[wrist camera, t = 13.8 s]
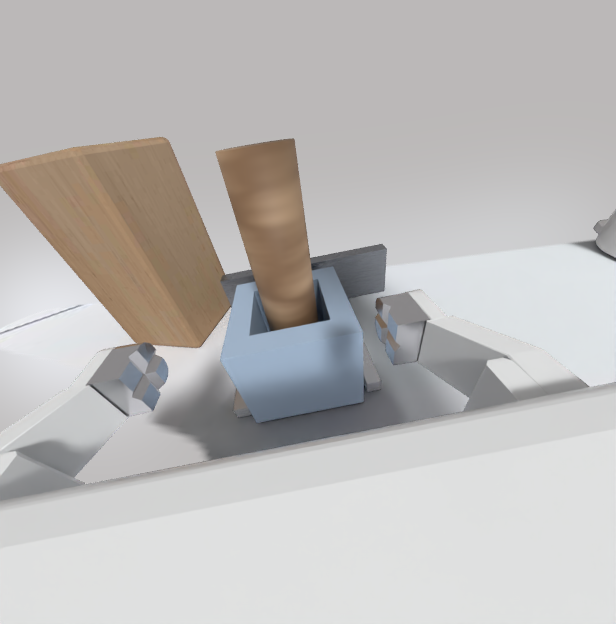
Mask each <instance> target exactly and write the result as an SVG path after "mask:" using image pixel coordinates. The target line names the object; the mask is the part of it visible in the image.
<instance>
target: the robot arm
mask: <svg viewBox="0 0 616 624" xmlns="http://www.w3.org/2000/svg"><path fill="white" fill-rule="evenodd" d="M594 230H595V231H596V232H597V233H598V237H597V239H596V244H597V246H598V247H599V248H600V249H601V250H602V251H604V252H605V253H607V254H609V255H611V256H613V257H615V258H616V210H615V211H614V212H613V214H612V215H611V216H610V218H609V219H607V220H600V221H599V222H597V224H596V225H595V226H594ZM376 309H377V311H378V314H377V316H376V317H375V326H376V332H377V334H378V337H379V339H380V341H381V342H382V343H384V344H386V353H387V355H388V357H389V358H390V360H391V362H392V364H393V365H398V364H404V363H410V362H416V361H418V363H419V364H421V365H422V366H424V367H425V368H427V369H428V370H430V371H431V372H432V373H434V374H435V375H437V376H438V377H440V378H441V379H443V380H444V381H446V382H447V383H448V384H450V385H451V386H453V387H454V388H456V389H457V390H459V391H460V392H462V393H463V394H464V395H466V396H467V397H469V400H468V402H467V404H466V406H465V408H464V411H463V412H458V413H453V414H448V415H443V416H437V417H432V418H427V419H422V420H417V421H412V422H406V423H401V424H396V425H391V426H386V427H380V428H375V429H370V430H365V431H360V432H354V433H349V434H344V435H339V436H334V437H328V438H323V439H318V440H313V441H308V442H302V443H297V444H292V445H287V446H282V447H276V448H271V449H266V450H261V451H256V452H251V453H245V454H240V455H235V456H230V457H225V458H220V459H214V460H209V461H204V462H199V463H194V464H189V465H184V466H178V467H173V468H168V469H163V470H158V471H152V472H147V473H142V474H137V475H132V476H126V477H121V478H116V479H111V480H106V481H101V482H95V483H90V484H85V483H84V482H82V481H80V480H77V479H75V478H74V477H75V476H76V475H77V474H78V473H79V471H80V470H82V468H83V467H84V466H85V465H86V464H87V463H88V462H89V461H90V460H91V459H92V457H93V456H94V455H95V454H96V453H97V452H98V451H99V450H100V449H101V447H102V446H103V445H104V444H105V443H106V442H107V441H108V440H109V439H110V438H111V437H112V435H113V434H114V433H115V432H116V431H117V430H118V429H119V428H120V427H121V425H122V424H123V423H124V422H125V421H126V420H127V419H128V417H129V416H134V415H138V414H143V413H147V412H152V411H153V410H154V408H155V405H156V403H157V401H158V399H159V396H160V392H159V388H161V387H162V386H163V385H164V384H165V382H166V380H167V377H168V366H167V364H166V362H165V360H164V359H163V358H162V357H159V356H157V355H155V352H156V349H155V348H154V347H153V346H152V344H151V343H147V342H143V343H137V344H131V345H125V346H119V347H114V348H109V349H103V350H101V351H99V352H97V354H96V355H95V356H94V357H93V358H92V360H91V361H90V362H89V363H88V365H87V366H86V367H85V368H84V370H83V371H82V372H81V373H80V374H79V376H78V377H77V378H76V379H75V381H74V382H73V383H72V384H71V386H70V387H69V388H68V389H66V390H62V391H61V392H59V393H58V394H56V395H55V396H54V397H52V398H51V399H49V400H48V401H46V402H45V403H43V404H42V405H40V406H39V407H37V408H36V409H35V410H33V411H32V412H30V413H29V414H27V415H26V416H24V417H23V418H21V419H20V420H19V421H17V422H16V423H14V424H13V425H11V426H10V427H8V428H7V429H5V430H4V431H2V432H1V433H0V624H616V382H614V383H608V384H603V385H598V386H593V387H589V386H588V385H587V384H586V383H584V382H583V381H582V380H581V379H579V378H578V377H577V376H576V375H575V374H573V373H572V372H571V371H570V370H568V369H567V368H566V367H565V366H563V365H562V364H561V363H560V362H558V361H557V360H556V359H555V358H553V357H552V356H551V355H550V354H548V353H547V352H546V351H545V350H543V349H541V348H539V347H536V346H533V345H531V344H528V343H525V342H522V341H520V340H517V339H514V338H511V337H509V336H506V335H503V334H501V333H498V332H495V331H492V330H490V329H487V328H484V327H482V326H479V325H476V324H473V323H471V322H468V321H465V320H463V319H460V318H457V317H454V316H449V317H448V316H447V315H446V314H445V313H444V312H443V311H442V310H441V309H440V308H439V307H438V306H437V305H436V304H435V303H434V302H433V301H432V300H431V299H430V298H429V297H428V295H427V294H426V293H425V292H424V291H423V290H420V289H418V290H413V291H409V292H405V293H401V294H396V295H391V296H386V297H381V298H377V300H376Z"/></svg>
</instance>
